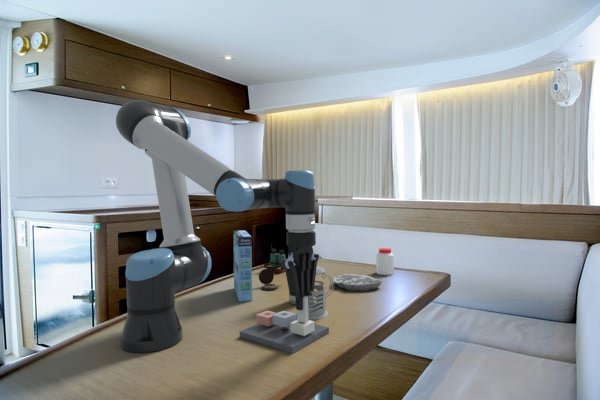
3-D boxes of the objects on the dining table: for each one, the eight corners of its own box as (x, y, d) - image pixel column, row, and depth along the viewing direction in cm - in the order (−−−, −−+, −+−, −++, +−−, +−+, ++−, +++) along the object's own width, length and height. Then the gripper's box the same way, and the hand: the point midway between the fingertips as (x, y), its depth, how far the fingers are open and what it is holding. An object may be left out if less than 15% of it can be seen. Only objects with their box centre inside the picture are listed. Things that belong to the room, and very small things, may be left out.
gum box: (233, 288, 155) (232, 230, 154) (246, 287, 156) (245, 230, 155) (238, 302, 136) (237, 236, 135) (253, 301, 137) (252, 236, 136)
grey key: (285, 333, 102) (285, 317, 102) (272, 329, 105) (272, 314, 105) (296, 328, 106) (296, 313, 106) (283, 324, 108) (283, 310, 108)
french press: (292, 311, 125) (291, 233, 124) (326, 307, 129) (325, 231, 128) (304, 321, 116) (302, 237, 115) (339, 316, 120) (338, 234, 119)
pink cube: (268, 332, 106) (268, 317, 106) (256, 329, 108) (256, 314, 108) (279, 327, 109) (279, 313, 109) (267, 324, 112) (267, 310, 112)
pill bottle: (373, 272, 180) (373, 248, 179) (388, 270, 182) (388, 247, 181) (381, 275, 172) (381, 250, 172) (397, 274, 175) (397, 249, 174)
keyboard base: (292, 353, 94) (292, 347, 94) (239, 336, 104) (239, 331, 104) (329, 332, 106) (328, 327, 106) (278, 319, 117) (278, 314, 117)
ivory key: (304, 342, 99) (304, 326, 98) (290, 338, 101) (290, 322, 101) (314, 336, 102) (314, 321, 102) (300, 332, 105) (300, 317, 105)
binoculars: (260, 252, 179) (272, 247, 188) (262, 275, 181) (274, 268, 189) (275, 254, 175) (288, 248, 183) (277, 277, 176) (289, 270, 184)
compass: (265, 291, 149) (264, 272, 149) (258, 287, 156) (258, 269, 156) (284, 289, 152) (284, 270, 152) (277, 284, 160) (276, 267, 159)
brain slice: (322, 286, 156) (322, 279, 156) (350, 279, 168) (350, 272, 168) (360, 296, 142) (360, 288, 142) (388, 287, 153) (388, 280, 153)
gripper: (297, 234, 93) (299, 331, 94) (326, 228, 104) (328, 316, 104) (273, 232, 98) (275, 325, 99) (304, 227, 108) (305, 311, 109)
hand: (302, 320), depth 102 cm, fingers closed
